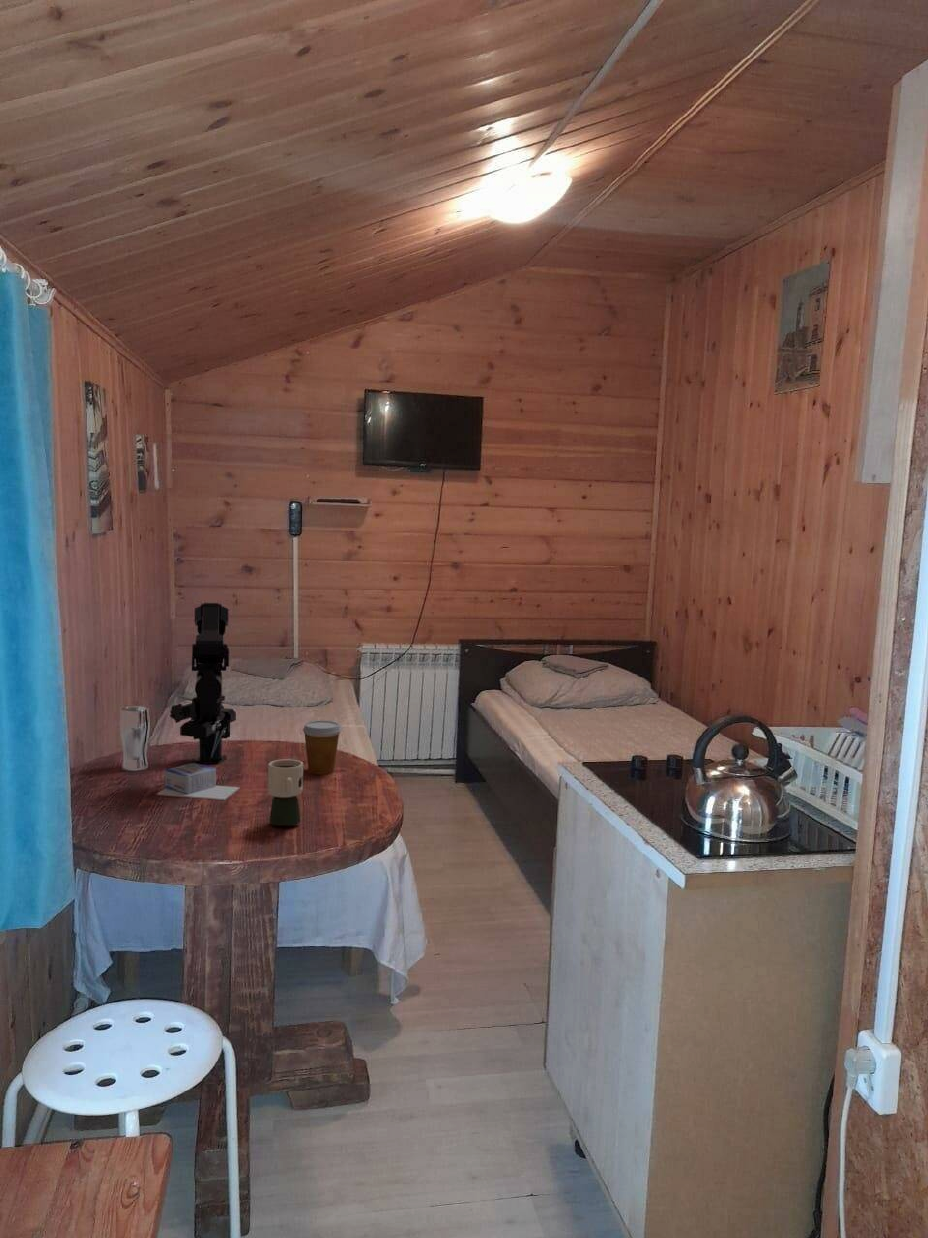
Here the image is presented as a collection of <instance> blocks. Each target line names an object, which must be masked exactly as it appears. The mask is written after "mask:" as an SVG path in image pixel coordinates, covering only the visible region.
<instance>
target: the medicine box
mask: <svg viewBox="0 0 928 1238" xmlns="http://www.w3.org/2000/svg"><path fill="white" fill-rule="evenodd" d="M216 771H217V769H216V768H215V767H212V766H209V765H204V764H200V763H198V762H192V763H187V764H183V765H180V766H176V767H175V766H174V767H171V768H167V769H165V770H164V789H165V788H168V789H172V790H175V791H178V792H182V793H185V794H191V793H195V792H198V791H201V790H205V789H208V788H212V787H215V786H217V784H216V783H217V774H216V773H217V772H216Z"/></svg>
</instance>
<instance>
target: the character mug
mask: <svg viewBox="0 0 928 1238" xmlns="http://www.w3.org/2000/svg"><path fill="white" fill-rule="evenodd" d="M267 779H268V780H267V792H268V795H270V796H272V797H273V798H272V800H271V807H270V815H269V824H270V825H273V826H284V827H286V828H287V827H288V826H296V825H298V824H300V823H301V813H300V811H301V810H300V804H299V799H298V797H297V796H300V795H301V794H302V793H303V790H304V763H303V761H302V760H296V759H290V758H289V759H288V758H285V759H284V758H283V759H276V760H272V761H270V762H269V763H268V771H267Z"/></svg>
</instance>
